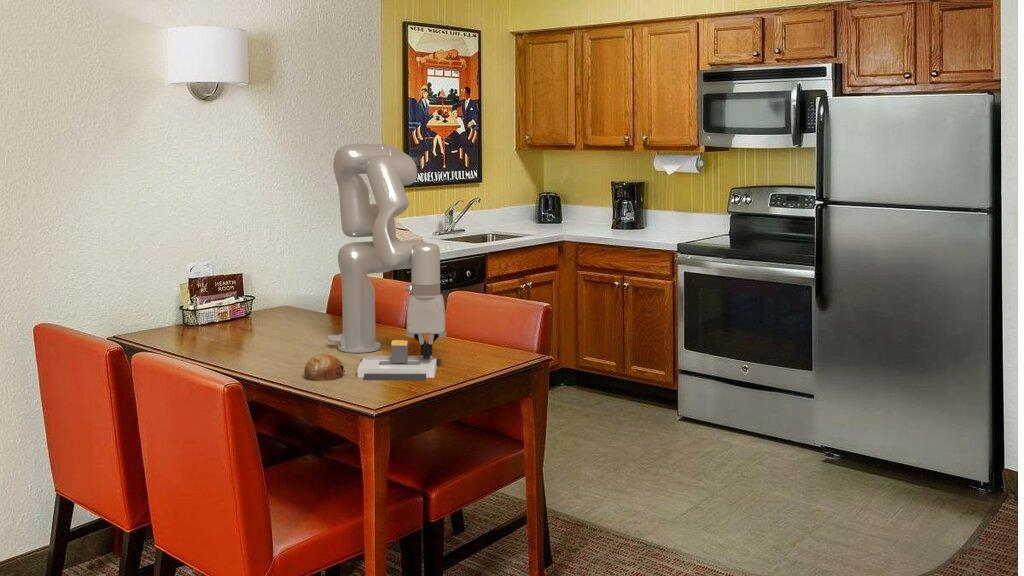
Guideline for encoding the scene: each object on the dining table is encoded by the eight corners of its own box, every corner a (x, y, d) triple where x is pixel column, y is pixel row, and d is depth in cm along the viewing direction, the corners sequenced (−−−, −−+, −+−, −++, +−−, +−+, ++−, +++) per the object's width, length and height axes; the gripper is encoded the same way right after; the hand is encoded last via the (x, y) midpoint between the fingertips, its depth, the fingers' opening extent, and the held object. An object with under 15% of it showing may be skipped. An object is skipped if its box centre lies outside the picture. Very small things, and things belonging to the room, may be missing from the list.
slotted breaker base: (357, 377, 252) (357, 365, 252) (363, 366, 264) (363, 355, 264) (434, 377, 253) (434, 365, 253) (436, 366, 265) (436, 355, 264)
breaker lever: (391, 363, 257) (391, 342, 256) (392, 360, 260) (392, 340, 259) (407, 363, 257) (406, 342, 256) (408, 360, 260) (407, 340, 259)
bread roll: (314, 385, 259) (300, 359, 257) (349, 368, 259) (335, 342, 257) (310, 395, 249) (295, 368, 247) (346, 378, 249) (332, 350, 247)
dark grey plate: (352, 380, 250) (352, 374, 250) (361, 363, 267) (361, 358, 267) (437, 380, 250) (437, 375, 250) (440, 364, 268) (440, 359, 268)
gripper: (396, 292, 251) (397, 361, 254) (453, 292, 252) (454, 361, 255) (398, 288, 259) (399, 355, 262) (454, 288, 259) (455, 355, 262)
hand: (426, 357), depth 258 cm, fingers closed
